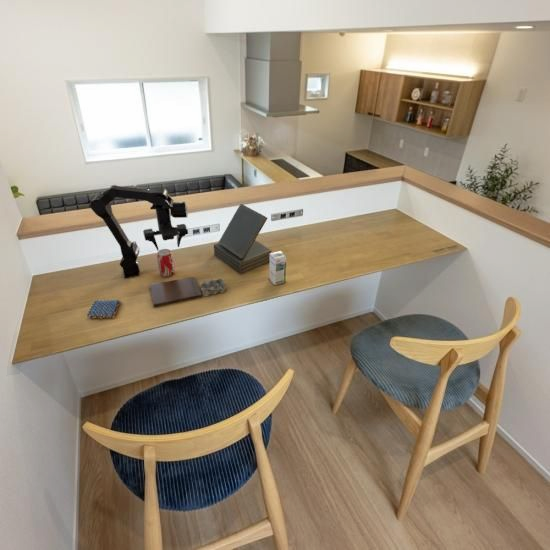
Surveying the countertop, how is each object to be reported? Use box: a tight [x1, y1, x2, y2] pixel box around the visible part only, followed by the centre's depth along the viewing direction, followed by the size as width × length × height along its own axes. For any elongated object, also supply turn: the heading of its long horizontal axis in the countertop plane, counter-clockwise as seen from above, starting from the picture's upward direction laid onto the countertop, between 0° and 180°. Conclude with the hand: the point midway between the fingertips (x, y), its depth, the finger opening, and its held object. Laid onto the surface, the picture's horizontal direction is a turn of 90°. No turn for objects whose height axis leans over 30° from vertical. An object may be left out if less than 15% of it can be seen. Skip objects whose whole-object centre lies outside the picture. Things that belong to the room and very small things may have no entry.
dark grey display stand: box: [213, 203, 272, 275], centre depth 180 cm, size 23×20×25 cm
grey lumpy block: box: [199, 277, 227, 297], centre depth 162 cm, size 11×8×4 cm
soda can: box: [156, 248, 176, 278], centre depth 169 cm, size 7×7×12 cm
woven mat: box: [86, 299, 121, 320], centre depth 149 cm, size 10×11×2 cm
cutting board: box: [149, 276, 202, 308], centre depth 160 cm, size 20×15×2 cm
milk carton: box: [269, 250, 287, 286], centre depth 166 cm, size 6×6×14 cm
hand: (168, 248), depth 167 cm, fingers open, 9 cm apart
